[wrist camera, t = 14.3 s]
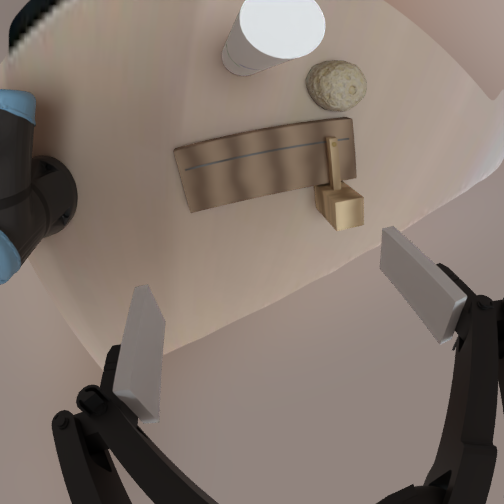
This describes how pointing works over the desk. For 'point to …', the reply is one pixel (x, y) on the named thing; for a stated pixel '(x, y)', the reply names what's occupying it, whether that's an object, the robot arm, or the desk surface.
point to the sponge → (336, 85)
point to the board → (263, 162)
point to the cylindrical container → (272, 34)
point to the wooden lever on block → (338, 195)
